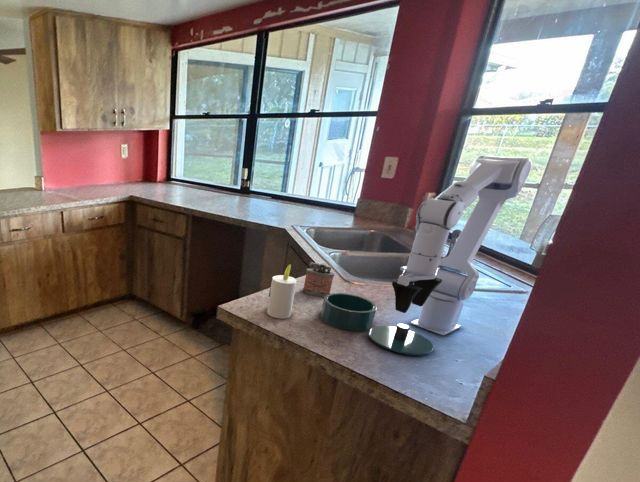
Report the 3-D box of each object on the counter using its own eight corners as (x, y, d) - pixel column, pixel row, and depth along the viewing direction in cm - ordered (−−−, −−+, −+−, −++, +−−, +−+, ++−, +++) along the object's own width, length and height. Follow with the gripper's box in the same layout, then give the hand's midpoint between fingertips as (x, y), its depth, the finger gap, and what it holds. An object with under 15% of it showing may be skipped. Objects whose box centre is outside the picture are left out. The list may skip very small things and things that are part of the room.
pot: (338, 306, 119) (342, 289, 117) (381, 324, 109) (386, 305, 107) (311, 316, 113) (314, 298, 111) (353, 335, 103) (358, 316, 101)
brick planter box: (330, 294, 127) (337, 264, 123) (328, 298, 124) (335, 267, 121) (303, 289, 131) (309, 260, 127) (301, 292, 128) (306, 262, 125)
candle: (266, 307, 118) (274, 258, 112) (290, 310, 116) (299, 261, 110) (265, 316, 113) (273, 265, 107) (290, 320, 110) (299, 268, 105)
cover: (386, 325, 108) (390, 309, 106) (443, 347, 97) (449, 331, 96) (356, 337, 102) (360, 321, 100) (413, 363, 91) (419, 345, 89)
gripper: (422, 244, 98) (406, 296, 103) (390, 252, 90) (375, 307, 96) (456, 252, 92) (438, 306, 97) (425, 261, 85) (406, 319, 90)
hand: (409, 308), depth 96 cm, fingers open, 7 cm apart
